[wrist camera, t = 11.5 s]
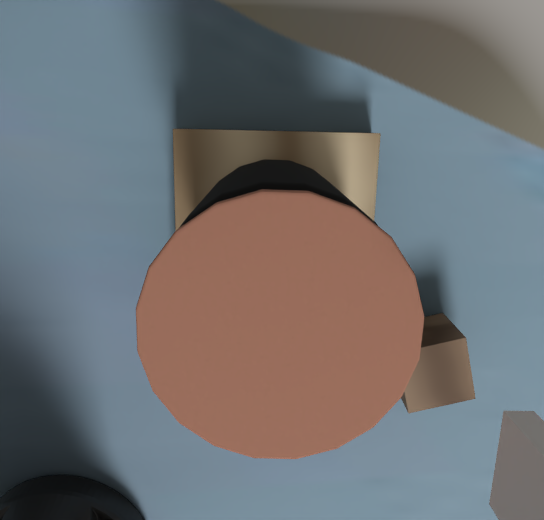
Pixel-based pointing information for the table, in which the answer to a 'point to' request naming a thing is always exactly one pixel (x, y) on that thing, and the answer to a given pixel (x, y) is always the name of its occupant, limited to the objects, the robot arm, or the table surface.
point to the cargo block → (440, 368)
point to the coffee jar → (279, 316)
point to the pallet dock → (274, 146)
